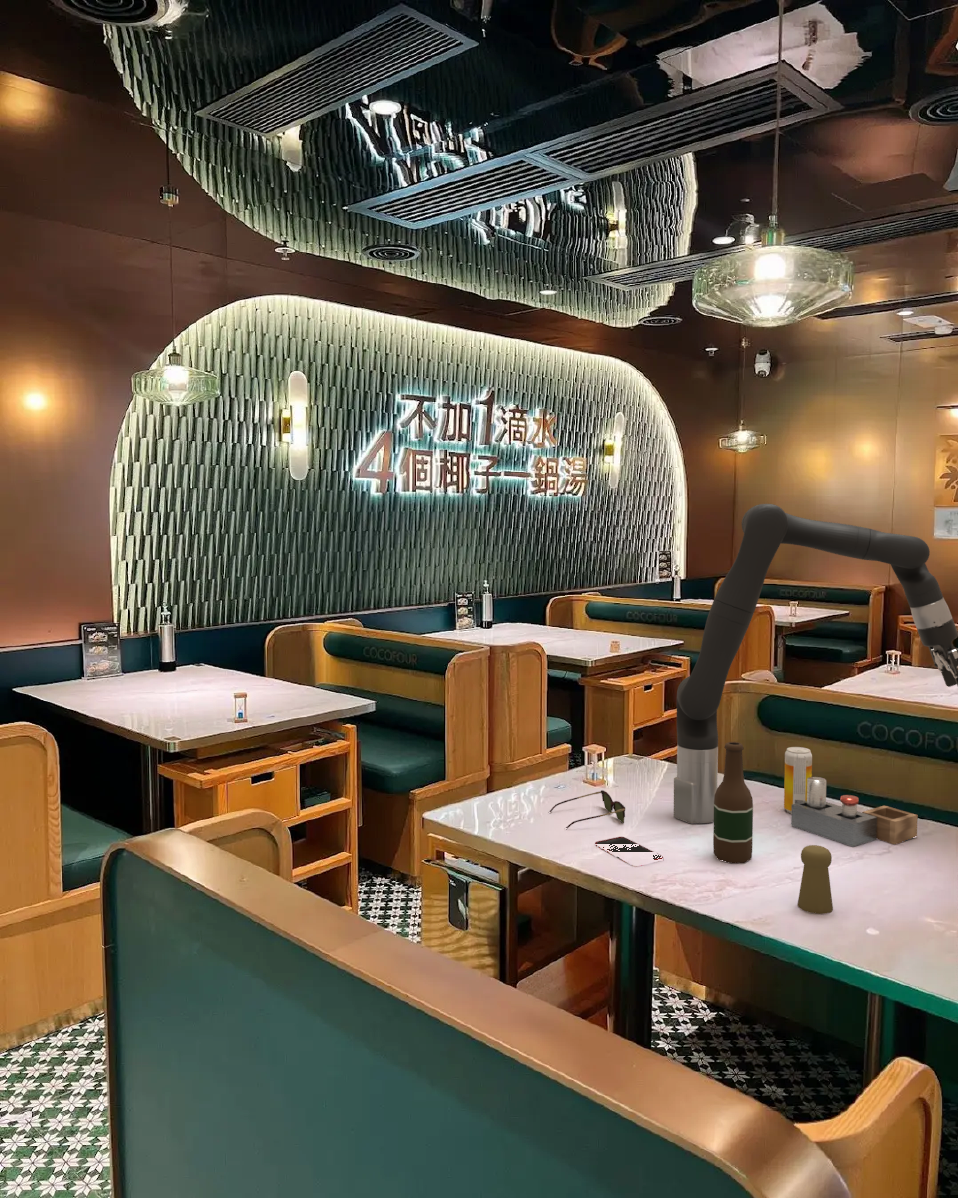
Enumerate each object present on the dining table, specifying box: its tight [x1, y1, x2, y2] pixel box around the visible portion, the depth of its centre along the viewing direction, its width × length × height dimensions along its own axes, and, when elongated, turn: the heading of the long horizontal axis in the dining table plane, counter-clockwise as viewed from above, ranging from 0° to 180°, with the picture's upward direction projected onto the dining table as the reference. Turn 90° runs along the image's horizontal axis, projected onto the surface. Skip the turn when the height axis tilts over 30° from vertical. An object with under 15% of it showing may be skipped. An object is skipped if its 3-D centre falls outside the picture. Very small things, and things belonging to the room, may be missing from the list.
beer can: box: [783, 746, 813, 815], centre depth 217 cm, size 6×6×15 cm
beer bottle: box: [712, 741, 754, 864], centre depth 188 cm, size 8×8×24 cm
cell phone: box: [594, 836, 664, 860], centre depth 192 cm, size 8×15×1 cm, turn 28°
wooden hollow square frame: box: [861, 805, 918, 845], centre depth 200 cm, size 8×8×5 cm
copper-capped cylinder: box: [840, 794, 859, 820], centre depth 199 cm, size 4×4×6 cm
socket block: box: [790, 801, 877, 848], centre depth 202 cm, size 8×16×5 cm, turn 32°
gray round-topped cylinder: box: [807, 776, 827, 810], centre depth 206 cm, size 4×4×11 cm
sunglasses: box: [549, 789, 626, 829], centre depth 214 cm, size 14×15×5 cm
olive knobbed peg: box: [797, 844, 834, 915], centre depth 164 cm, size 6×6×11 cm
